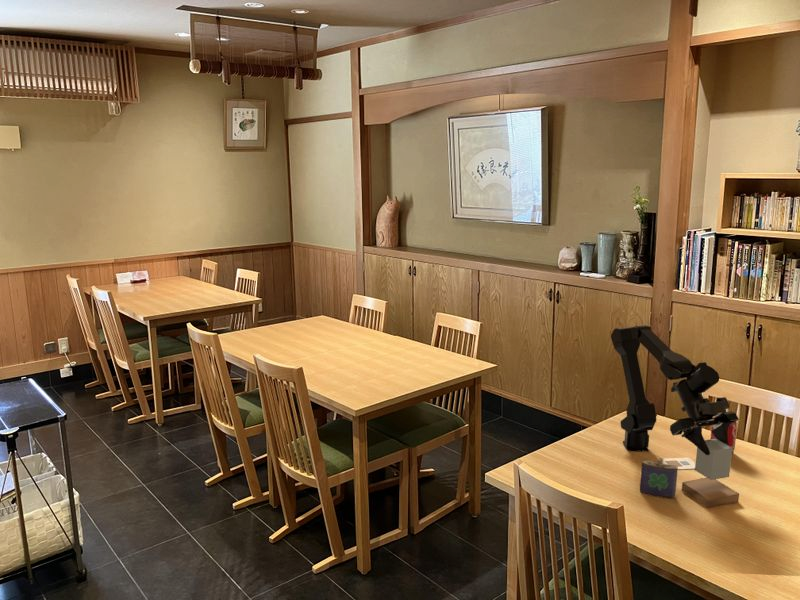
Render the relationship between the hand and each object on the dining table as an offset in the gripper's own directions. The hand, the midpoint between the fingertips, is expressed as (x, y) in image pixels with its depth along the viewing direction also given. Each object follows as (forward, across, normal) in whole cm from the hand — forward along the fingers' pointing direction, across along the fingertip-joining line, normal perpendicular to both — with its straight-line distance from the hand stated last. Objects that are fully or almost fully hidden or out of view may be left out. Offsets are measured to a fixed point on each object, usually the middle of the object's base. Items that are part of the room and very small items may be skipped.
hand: (718, 453), depth 175 cm
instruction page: (-4, +5, +23) cm, 24 cm away
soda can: (-6, +23, +25) cm, 35 cm away
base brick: (+9, 0, +11) cm, 14 cm away
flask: (+5, -13, +14) cm, 20 cm away
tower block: (+4, 0, +6) cm, 7 cm away
